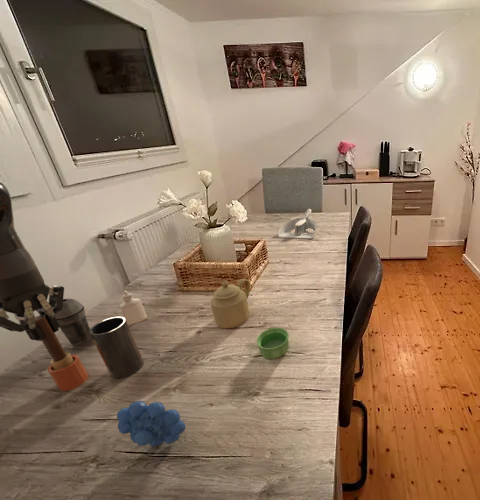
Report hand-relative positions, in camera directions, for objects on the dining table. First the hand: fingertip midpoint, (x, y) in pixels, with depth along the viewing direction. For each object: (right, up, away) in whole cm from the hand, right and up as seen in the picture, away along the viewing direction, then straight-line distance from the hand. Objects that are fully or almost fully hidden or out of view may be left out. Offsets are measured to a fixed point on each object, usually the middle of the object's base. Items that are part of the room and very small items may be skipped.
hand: (47, 335), depth 66 cm
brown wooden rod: (0, -13, +6) cm, 14 cm away
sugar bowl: (+31, -3, +32) cm, 45 cm away
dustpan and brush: (+42, +33, +114) cm, 126 cm away
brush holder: (0, -14, +6) cm, 16 cm away
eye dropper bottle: (-1, -5, +30) cm, 30 cm away
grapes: (+32, -20, -9) cm, 39 cm away
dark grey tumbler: (+11, -13, +10) cm, 20 cm away
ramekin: (+50, -9, +16) cm, 53 cm away
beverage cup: (-11, -9, +20) cm, 25 cm away
